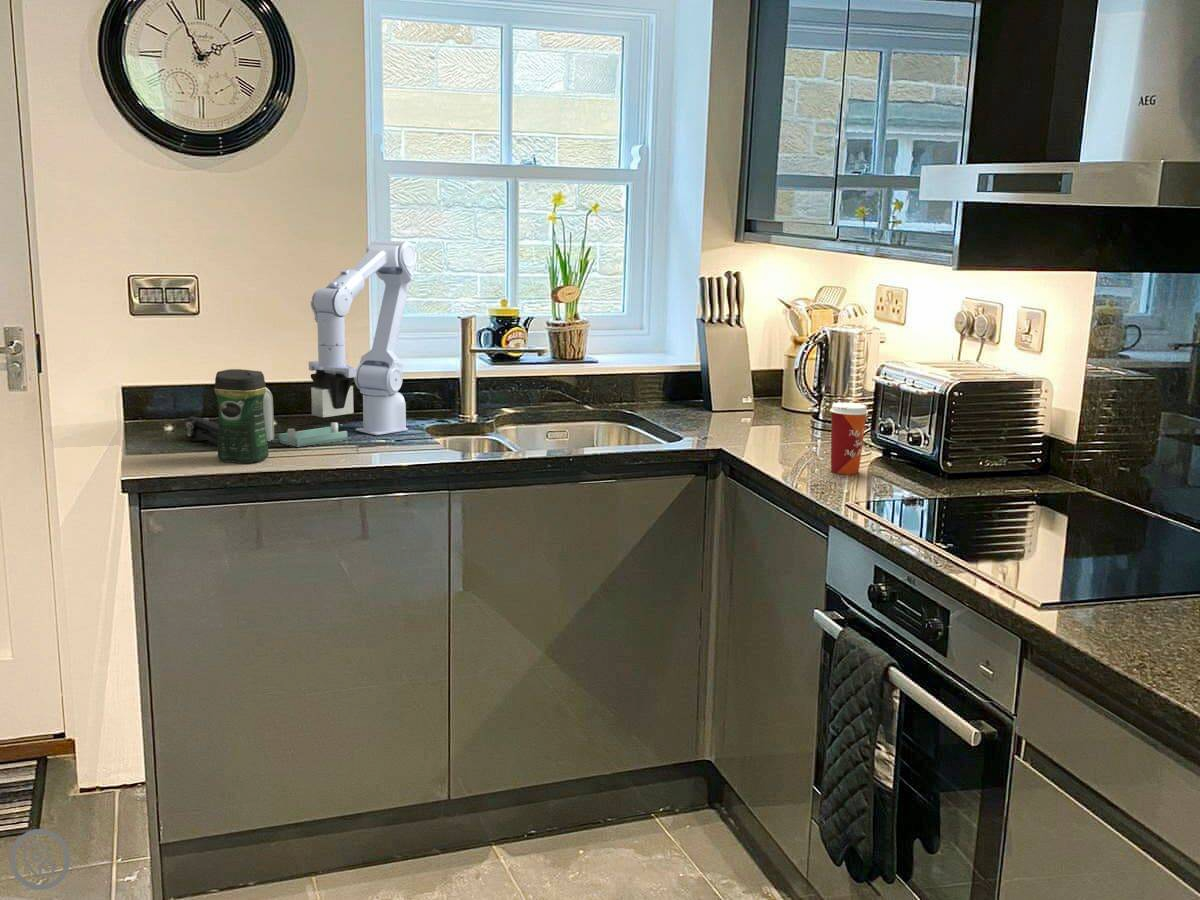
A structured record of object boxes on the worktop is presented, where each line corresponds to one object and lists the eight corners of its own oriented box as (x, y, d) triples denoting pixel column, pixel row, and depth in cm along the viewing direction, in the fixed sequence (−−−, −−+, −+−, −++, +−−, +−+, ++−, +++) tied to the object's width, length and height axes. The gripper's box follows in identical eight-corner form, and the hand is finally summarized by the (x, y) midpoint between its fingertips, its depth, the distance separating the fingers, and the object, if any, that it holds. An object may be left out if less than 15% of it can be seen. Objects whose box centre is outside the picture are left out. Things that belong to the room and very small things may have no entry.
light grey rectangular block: (342, 410, 257) (341, 383, 255) (353, 413, 254) (353, 385, 253) (311, 414, 251) (311, 387, 249) (323, 417, 248) (322, 389, 247)
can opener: (177, 440, 255) (176, 415, 254) (206, 436, 260) (205, 412, 259) (219, 453, 243) (218, 427, 242) (249, 449, 248) (248, 423, 247)
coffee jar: (274, 457, 240) (271, 368, 236) (253, 465, 232) (250, 373, 228) (233, 454, 242) (229, 365, 238) (211, 461, 235) (207, 370, 231)
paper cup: (856, 477, 235) (861, 409, 233) (820, 472, 239) (824, 405, 237) (869, 470, 242) (874, 404, 239) (834, 465, 246) (838, 400, 243)
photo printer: (239, 435, 261) (237, 381, 258) (257, 433, 264) (255, 379, 261) (258, 443, 253) (256, 387, 251) (277, 441, 256) (275, 385, 253)
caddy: (328, 435, 263) (328, 420, 263) (347, 440, 259) (347, 424, 258) (278, 443, 254) (278, 427, 253) (297, 448, 249) (297, 432, 249)
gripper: (296, 342, 251) (297, 404, 254) (336, 349, 242) (337, 413, 244) (323, 340, 256) (324, 401, 259) (363, 346, 247) (365, 409, 250)
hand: (332, 406), depth 252 cm, fingers closed on light grey rectangular block, 4 cm apart
